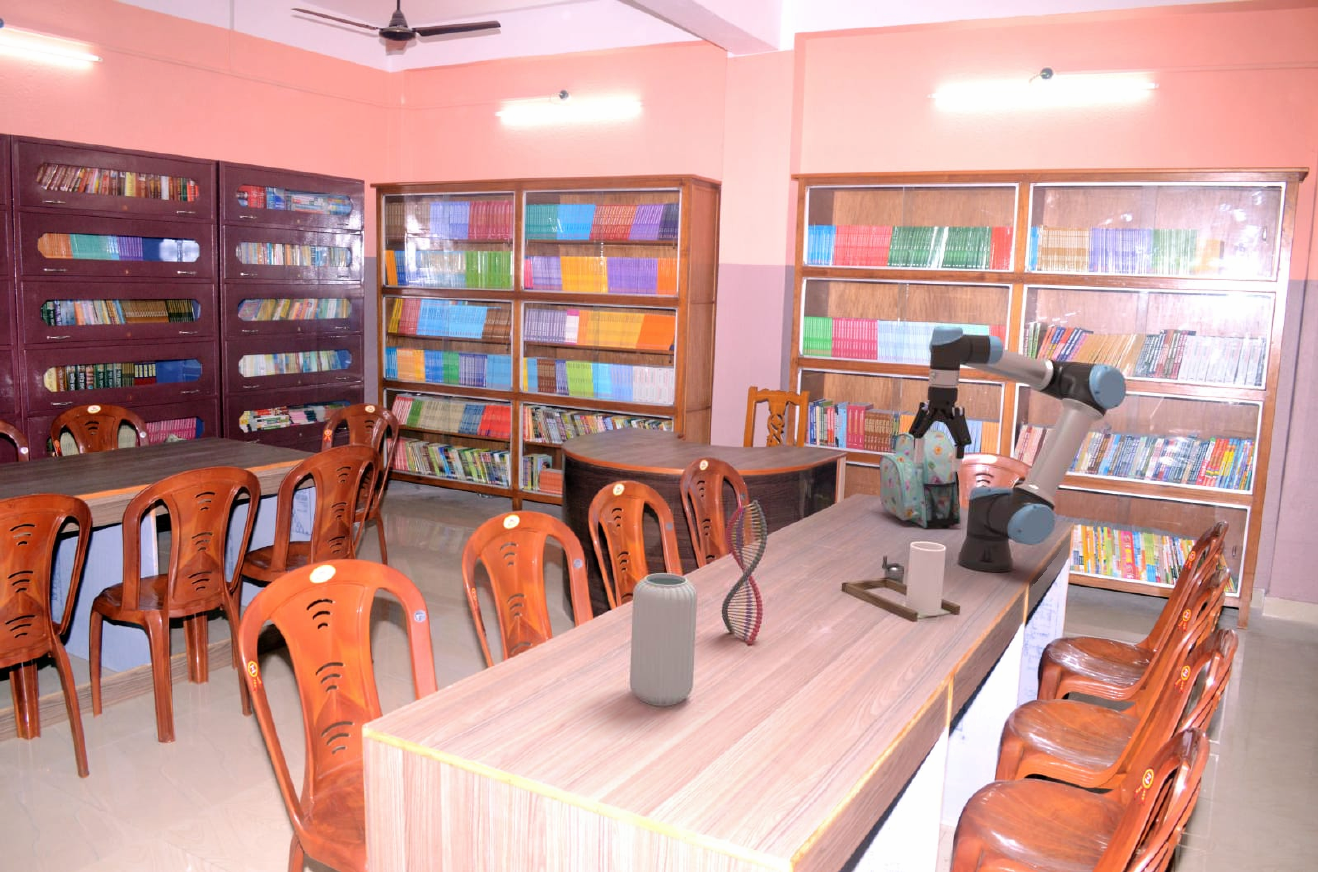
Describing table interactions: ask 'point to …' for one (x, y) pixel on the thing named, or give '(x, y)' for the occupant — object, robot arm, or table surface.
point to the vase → (663, 639)
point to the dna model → (745, 571)
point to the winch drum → (893, 571)
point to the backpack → (921, 482)
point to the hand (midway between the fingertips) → (936, 466)
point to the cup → (925, 578)
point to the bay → (859, 591)
